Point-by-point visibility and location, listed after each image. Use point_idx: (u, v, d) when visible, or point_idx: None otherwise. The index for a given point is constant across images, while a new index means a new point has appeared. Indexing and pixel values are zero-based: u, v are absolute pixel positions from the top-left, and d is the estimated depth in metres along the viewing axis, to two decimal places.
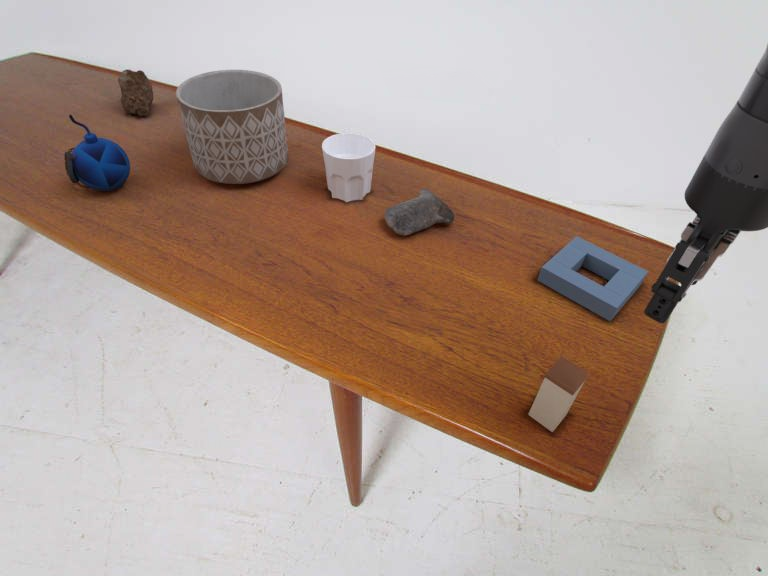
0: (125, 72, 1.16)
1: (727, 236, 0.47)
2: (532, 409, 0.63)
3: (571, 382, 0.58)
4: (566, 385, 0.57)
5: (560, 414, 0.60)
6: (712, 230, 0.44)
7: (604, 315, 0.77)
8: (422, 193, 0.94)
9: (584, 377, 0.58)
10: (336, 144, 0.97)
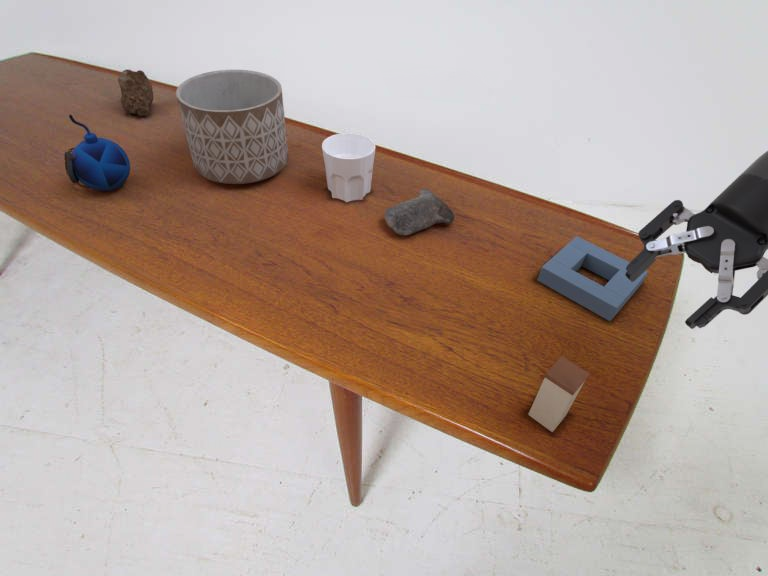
0: (125, 72, 1.16)
1: None
2: (532, 409, 0.63)
3: (571, 382, 0.58)
4: (566, 385, 0.57)
5: (560, 414, 0.60)
6: None
7: (604, 315, 0.77)
8: (422, 193, 0.94)
9: (584, 377, 0.58)
10: (336, 144, 0.97)
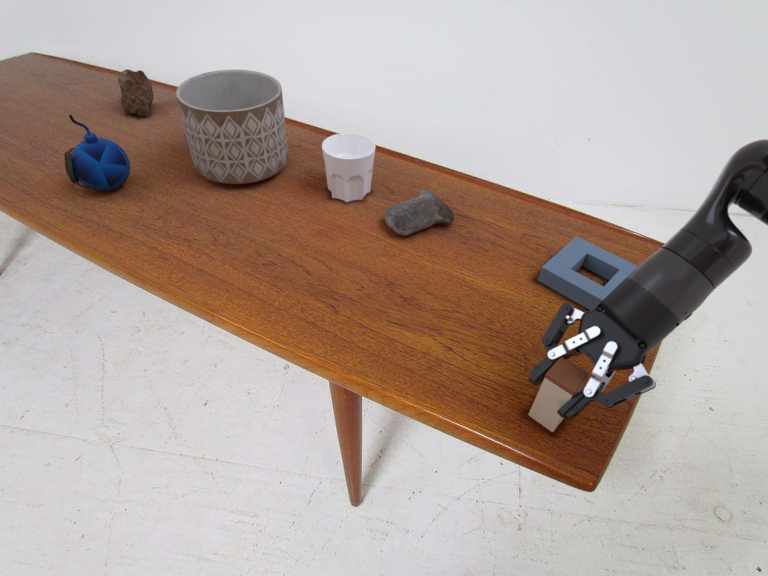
0: (125, 72, 1.16)
1: None
2: (532, 409, 0.63)
3: (571, 382, 0.57)
4: (566, 385, 0.57)
5: None
6: None
7: None
8: (422, 193, 0.94)
9: (584, 377, 0.58)
10: (336, 144, 0.97)
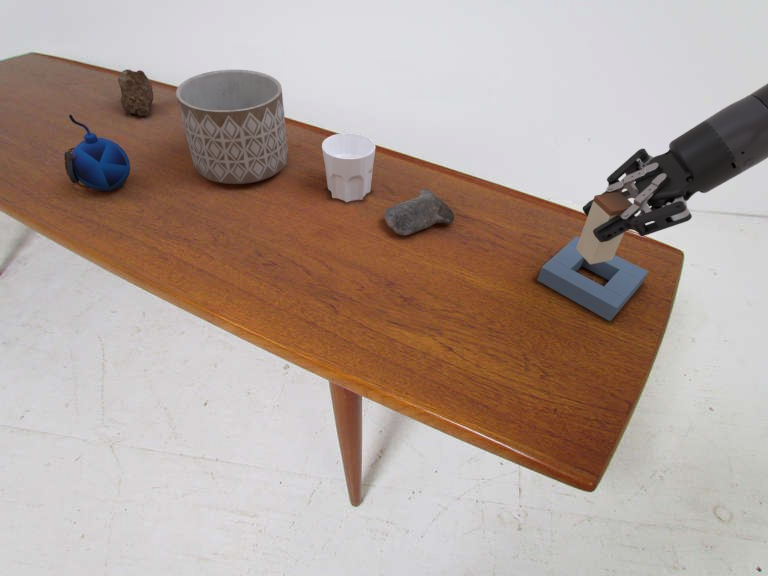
0: (125, 72, 1.16)
1: None
2: (579, 241, 0.70)
3: (613, 205, 0.63)
4: (607, 206, 0.63)
5: (598, 241, 0.66)
6: None
7: (604, 315, 0.77)
8: (422, 193, 0.94)
9: None
10: (336, 144, 0.97)
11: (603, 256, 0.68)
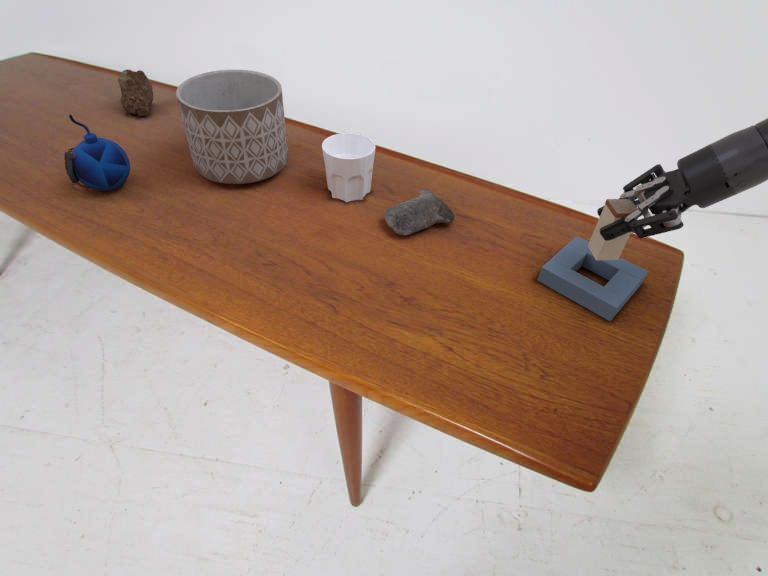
0: (125, 72, 1.16)
1: None
2: (590, 239, 0.79)
3: (620, 209, 0.72)
4: (614, 209, 0.72)
5: None
6: None
7: (604, 315, 0.77)
8: (422, 193, 0.94)
9: None
10: (336, 144, 0.97)
11: (609, 255, 0.77)
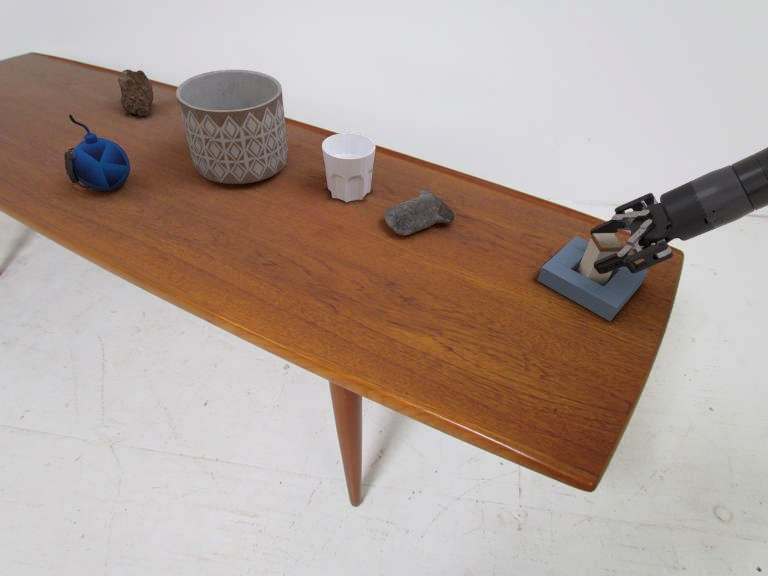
0: (125, 72, 1.16)
1: None
2: (578, 269, 0.84)
3: (605, 244, 0.77)
4: (599, 243, 0.77)
5: (590, 271, 0.79)
6: None
7: (604, 315, 0.77)
8: (422, 193, 0.94)
9: (618, 247, 0.76)
10: (336, 144, 0.97)
11: None
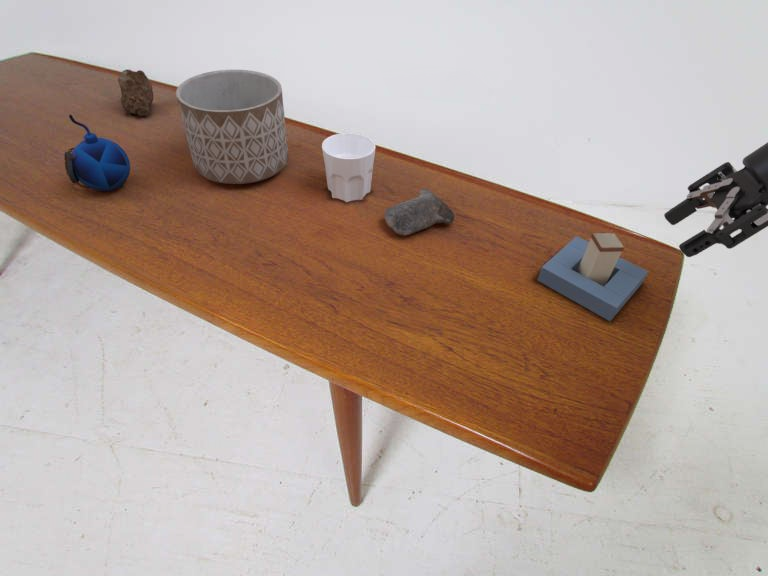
0: (125, 72, 1.16)
1: None
2: (578, 269, 0.84)
3: (605, 244, 0.77)
4: (599, 243, 0.77)
5: (590, 271, 0.79)
6: None
7: (604, 315, 0.77)
8: (422, 193, 0.94)
9: (618, 247, 0.76)
10: (336, 144, 0.97)
11: None
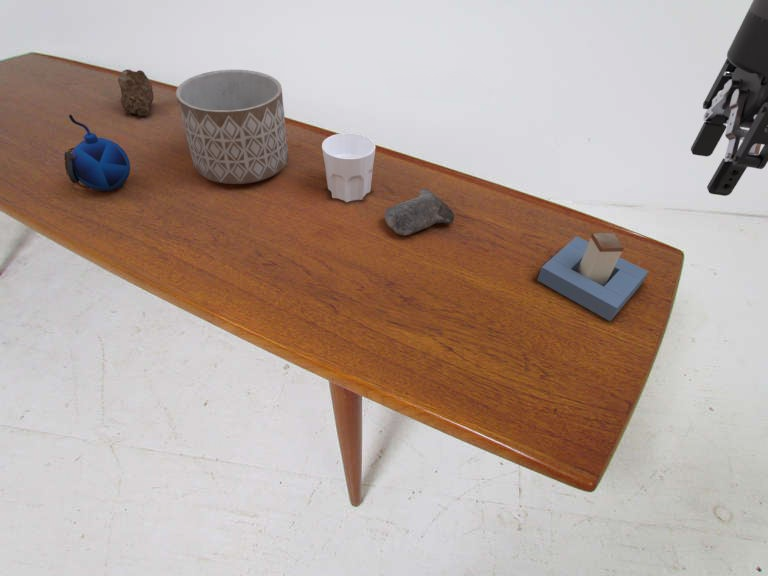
0: (125, 72, 1.16)
1: None
2: (578, 269, 0.84)
3: (605, 244, 0.77)
4: (599, 243, 0.77)
5: (590, 271, 0.79)
6: None
7: (604, 315, 0.77)
8: (422, 193, 0.94)
9: (618, 247, 0.76)
10: (336, 144, 0.97)
11: None
